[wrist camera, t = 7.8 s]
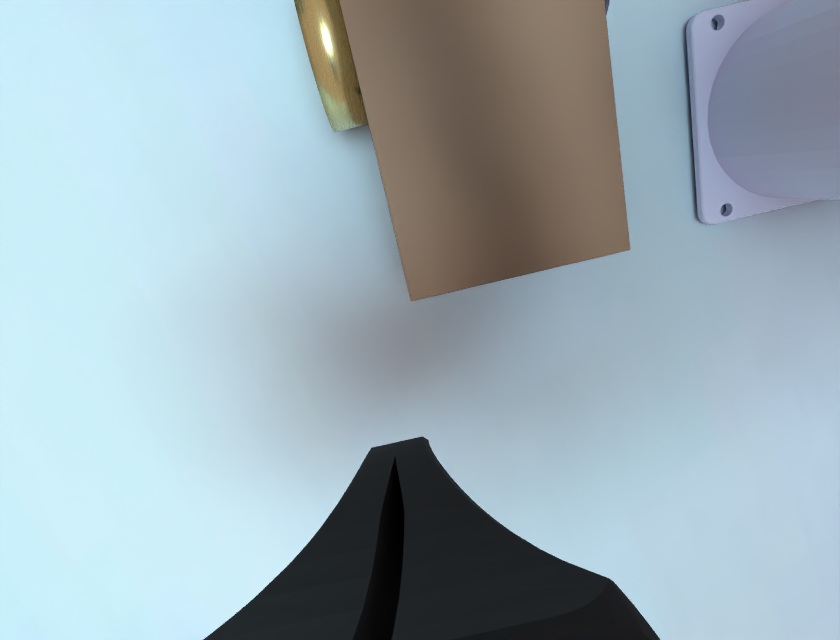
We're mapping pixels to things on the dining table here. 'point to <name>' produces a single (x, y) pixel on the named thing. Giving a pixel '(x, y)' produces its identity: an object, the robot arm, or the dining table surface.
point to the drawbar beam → (491, 134)
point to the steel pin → (334, 61)
